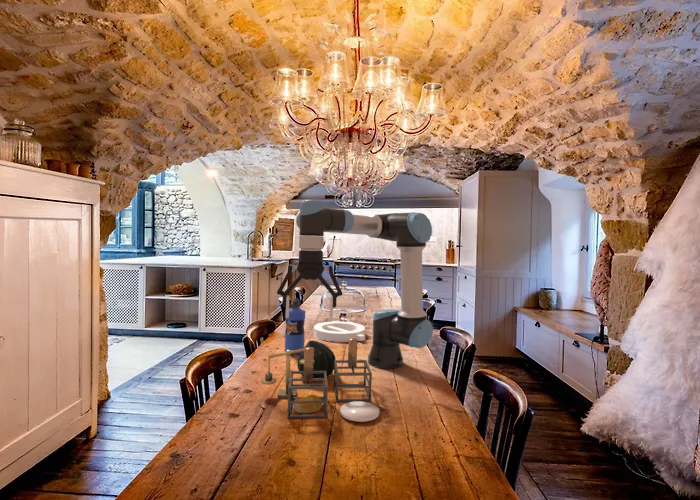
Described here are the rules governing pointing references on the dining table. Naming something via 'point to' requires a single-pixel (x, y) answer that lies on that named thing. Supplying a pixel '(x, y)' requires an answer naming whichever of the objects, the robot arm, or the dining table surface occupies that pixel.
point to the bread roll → (307, 404)
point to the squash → (319, 359)
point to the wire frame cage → (308, 385)
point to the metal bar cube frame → (352, 373)
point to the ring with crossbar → (339, 331)
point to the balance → (270, 380)
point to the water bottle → (295, 328)
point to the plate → (359, 411)
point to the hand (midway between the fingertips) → (309, 317)
